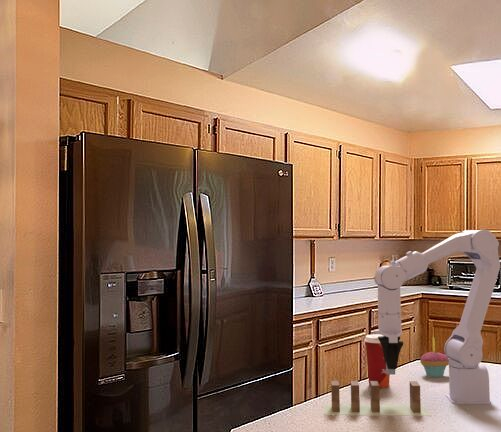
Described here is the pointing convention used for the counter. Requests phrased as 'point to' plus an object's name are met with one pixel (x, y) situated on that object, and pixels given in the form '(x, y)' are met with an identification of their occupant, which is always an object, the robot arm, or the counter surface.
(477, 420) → the counter surface
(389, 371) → the tile
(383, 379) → the paper cup
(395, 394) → the counter surface
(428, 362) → the cupcake
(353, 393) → the tile
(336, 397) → the tile
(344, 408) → the mat
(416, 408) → the tile
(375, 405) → the tile
